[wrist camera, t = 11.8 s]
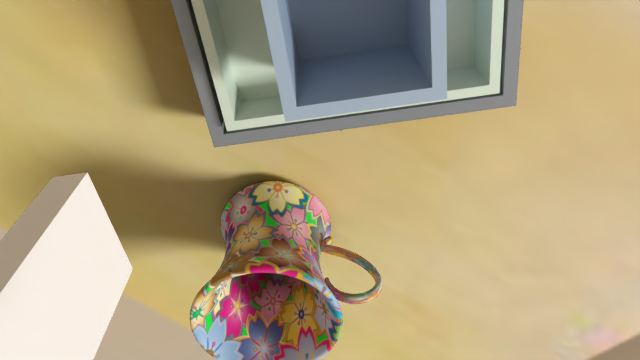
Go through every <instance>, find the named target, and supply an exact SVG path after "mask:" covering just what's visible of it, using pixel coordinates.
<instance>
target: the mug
mask: <svg viewBox="0 0 640 360" xmlns="http://www.w3.org/2000/svg"><path fill="white" fill-rule="evenodd" d="M220 226H221V233H222V237H223V239H224V241H225V243H226V253H225V257H224V260H223V262H222V265H221V267H220V268H219V270H218V271H217V273H216V274H215V275H214V277H213V278H212V279H211V280H210V281H209V282H208V283H206V284H205V285H204V286H203V287H202V289H201V290H200V291H199V292H198V294H197V295H196V297H195V299H194V301H193V303H192V306H191V310H190V324H191V329H192V332H193V334H194V336H195V338H196V340H197V341H198V343H199V344H200V345H201V347H202V348H203V349H204V350H205V351H207V352H208V353H209V354H210V355H211V356H213V357H214V358H216V359H217V360H319V359H321V358H322V357H323V356H325V355H326V354H327V353H328V352H329V351H330V350H331V349H332V348H333V347H334V345H335V344H336V342H337V340H338V339H339V336H340V334H341V330H342V323H343V320H342V312H341V308H340V305H339V303H338V301H337V300H339V301H342V302H345V303H349V304H361V303H365V302H368V301H370V300H372V299H374V298H375V297H376V296H377V295H378V294H379V293H380V291H381V287H382V281H381V277H380V274H379V272H378V271H377V270H376V268H375V267H374V266H373V265H372V264H371V263H370V262H368V261H367V260H366V259H364V258H363V257H361V256H359V255H358V254H356V253H354V252H351V251H349V250H346V249H343V248H340V247H336V246H331V244H332V237H331V236H330V231H331V224H330V218H329V215H328V213H327V211H326V208H325V207H324V205H323V204H322V203H321V201H320V200H319V199H318V198H317V197H316V196H315V195H314V194H312V193H311V192H309V191H308V190H306V189H304V188H302V187H300V186H297V185H295V184H291V183H287V182H279V181H269V182H261V183H257V184H253V185H250V186H248V187H246V188H244V189H242V190H241V191H239V192H238V193H236V194H235V195H234V196H233V197H232V198H231V199H230V200H229V202H228V203H227V204H226V206H225V208H224V210H223V212H222V216H221V224H220ZM322 251H323V252H325V253H327V254H331V255H335V256H339V257H342V258H345V259H348V260H350V261H352V262H354V263H356V264H358V265H360V266H361V267H363V268H364V269H365V270H367V271H368V272H369V273H370V274H371V275H372V277H373V278H374V280H375V282H376V284H375V286H374V287H373V288H372V289H371V290H369V291H367V292H364V293H360V294H349V293H344V292H341V291H339V290H337V289H336V288H335V287H334V286H333V285H332V284H331V283H330V281H329V278H325V280H324V278H323V276H322V272H321V268H320V254H321V252H322Z"/></svg>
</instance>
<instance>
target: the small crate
mask: <svg viewBox="0 0 640 360" xmlns="http://www.w3.org/2000/svg"><path fill="white" fill-rule="evenodd" d="M260 1H261V5H262V10H263V15H264V20H265V25H266V30H267V35H268V40H269V45H270V50H271V55H272V60H273V64H274V69H275V74H276V79H277V84H278V89H279V94H280V99H281V104H282V109H283V114H284V118H285V122H287V121H294V120H301V119H309V118H316V117H323V116H330V115H337V114H344V113H351V112H358V111H365V110H372V109H379V108H386V107H394V106H401V105H408V104H415V103H422V102H429V101H436V100H443V99H447V28H446V0H260Z"/></svg>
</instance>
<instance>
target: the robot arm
mask: <svg viewBox="0 0 640 360" xmlns="http://www.w3.org/2000/svg"><path fill="white" fill-rule="evenodd" d="M132 270H133V268H132V266H131V264H130V262H129V260H128V258H127V256H126V253H125V251H124V249H123V247H122V245H121V243H120V241H119V238H118V236H117V234H116V232H115V230H114V228H113V226H112V224H111V221H110V219H109V217H108V215H107V213H106V211H105V209H104V207H103V204H102V202H101V200H100V198H99V196H98V194H97V192H96V189H95V187H94V185H93V183H92V181H91V179H90V177H89V175H88V172H86V173H79V174H71V175H64V176H57V177H52V178H51V180H50V181H49V182H48V183H47V185H46V186H45V187H44V188H43V189H42V191H41V192H40V193H39V194H38V196H37V197H36V198H35V199H34V200H33V202H32V203H31V204H30V205H29V206H28V208H27V209H26V210H25V211H24V213H23V214H22V215H21V216H20V217H19V219H18V220H17V221H16V222H15V224H14V225H13V226H12V227H11V228H10V230H9V231H8V232H7V233H6V234H5V236H4V237H3V238H2V239H1V241H0V360H93V359H94V356H95V354H96V352H97V350H98V347H99V345H100V343H101V340H102V338H103V336H104V334H105V331H106V329H107V327H108V324H109V322H110V320H111V318H112V315H113V313H114V311H115V308H116V306H117V304H118V302H119V299H120V297H121V295H122V292H123V290H124V288H125V286H126V283H127V281H128V279H129V276H130V274H131V272H132Z"/></svg>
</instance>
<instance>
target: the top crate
mask: <svg viewBox="0 0 640 360" xmlns="http://www.w3.org/2000/svg"><path fill="white" fill-rule="evenodd" d="M191 2H192V6H193V9H194V13H195V17H196V20H197V24H198V28H199V31H200V35H201V38H202V42H203V46H204V49H205V53H206V57H207V60H208V64H209V67H210V71H211V75H212V78H213V82H214V86H215V89H216V93H217V97H218V100H219V104H220V107H221V111H222V115H223V118H224V122H225V126H226V129H227V131H234V130H241V129H248V128H255V127H262V126H269V125H276V124H283V123H291V122H298V121H305V120H312V119H319V118H326V117H333V116H340V115H348V114H355V113H362V112H369V111H376V110H383V109H390V108H398V107H405V106H412V105H419V104H426V103H433V102H440V101H447V100H455V99H462V98H469V97H476V96H483V95H490V94H497V93H500V74H501V55H502V35H503V16H504V0H446V28H447V99H443V100H436V101H429V102H422V103H415V104H408V105H401V106H394V107H386V108H379V109H372V110H365V111H358V112H351V113H344V114H337V115H330V116H323V117H316V118H309V119H301V120H294V121H287V122H285V118H284V114H283V109H282V104H281V99H280V94H279V89H278V84H277V79H276V74H275V69H274V64H273V60H272V55H271V50H270V45H269V40H268V35H267V30H266V25H265V20H264V15H263V10H262V5H261V1H260V0H191Z"/></svg>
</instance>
